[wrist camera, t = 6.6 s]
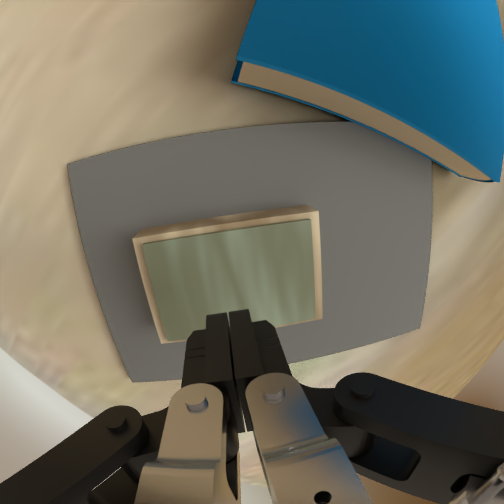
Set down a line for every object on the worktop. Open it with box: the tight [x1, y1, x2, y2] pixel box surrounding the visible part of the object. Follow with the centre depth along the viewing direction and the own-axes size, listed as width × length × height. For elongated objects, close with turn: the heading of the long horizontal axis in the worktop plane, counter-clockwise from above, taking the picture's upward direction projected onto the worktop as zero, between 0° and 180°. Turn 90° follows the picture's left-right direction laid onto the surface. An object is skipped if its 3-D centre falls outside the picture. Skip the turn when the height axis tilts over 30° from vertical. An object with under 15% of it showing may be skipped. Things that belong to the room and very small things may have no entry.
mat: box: [67, 122, 433, 382], centre depth 17 cm, size 22×15×1 cm
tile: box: [132, 205, 323, 344], centre depth 15 cm, size 2×6×9 cm
